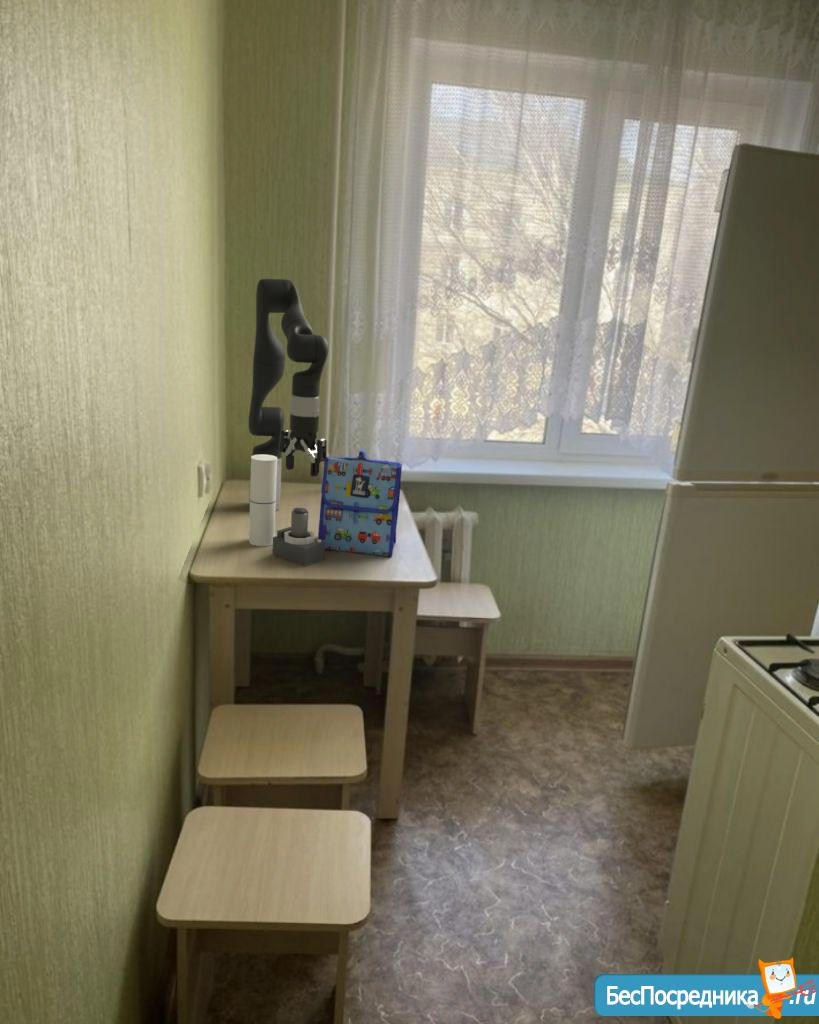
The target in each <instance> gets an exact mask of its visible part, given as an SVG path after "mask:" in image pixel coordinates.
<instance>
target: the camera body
mask: <svg viewBox="0 0 819 1024" xmlns="http://www.w3.org/2000/svg"><path fill="white" fill-rule="evenodd" d="M271 553H272V554H271V555H273V556H275V557H278V558H282V559H284V560H286V561H290V562H292V563H295V564H298V565H301V566H303V567H306V566H309V565H312V564H315V563H317V562H319V561H323V560H325V557H326V556H325V554H326V549H325V542H324V541H321V540H320V539H318V538H315V533H314V532H313V531H309V530H307V538H293V537H291V526H288V527H285V528H282V529H278V530H277V531H276V536H274V537H273V544H272V551H271Z"/></svg>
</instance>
